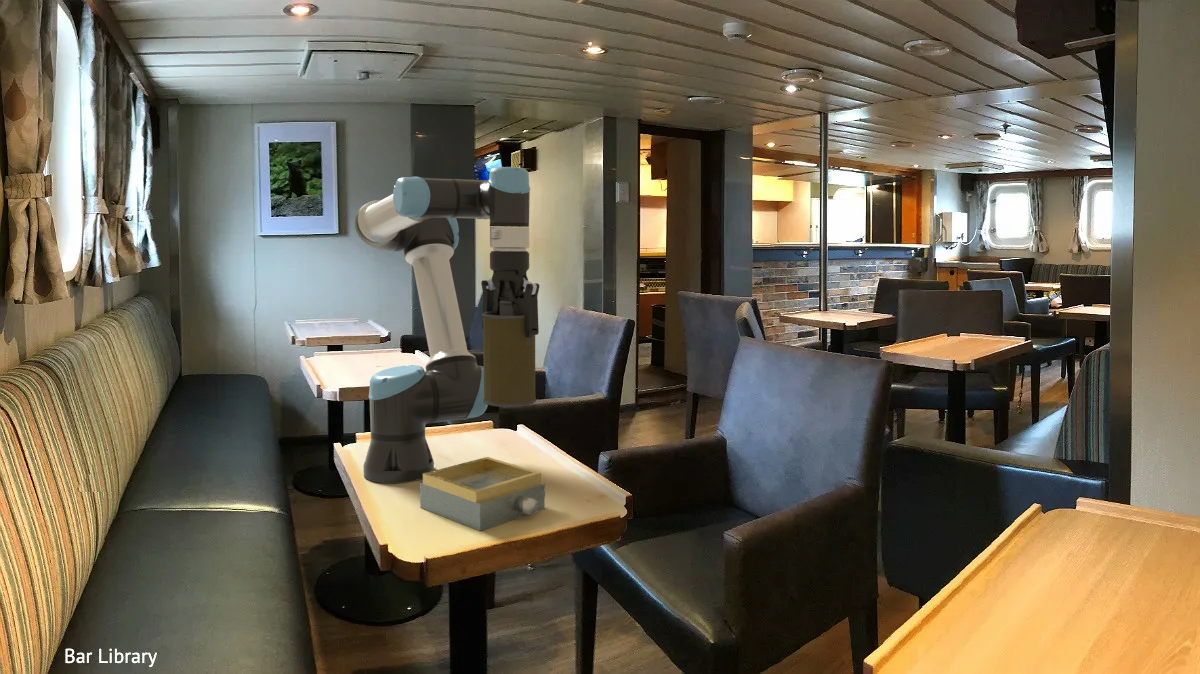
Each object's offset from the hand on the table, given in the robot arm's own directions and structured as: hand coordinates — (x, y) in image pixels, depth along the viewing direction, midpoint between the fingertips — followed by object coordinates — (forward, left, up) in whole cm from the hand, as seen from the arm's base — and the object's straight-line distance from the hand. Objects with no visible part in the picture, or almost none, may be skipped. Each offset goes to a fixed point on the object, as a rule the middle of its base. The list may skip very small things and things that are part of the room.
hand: (509, 369), depth 155 cm
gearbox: (+1, -7, -27) cm, 27 cm away
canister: (0, 0, -7) cm, 7 cm away
